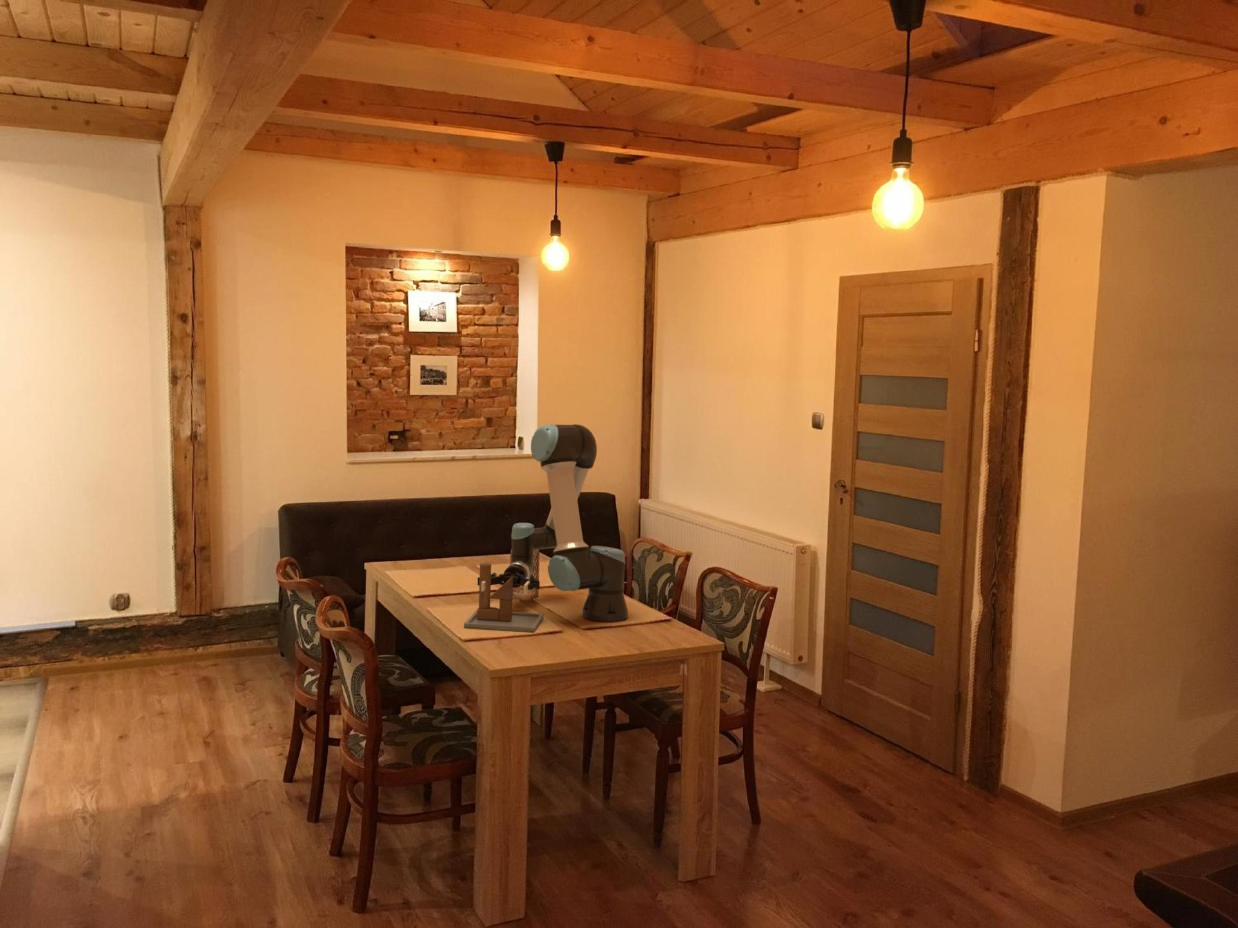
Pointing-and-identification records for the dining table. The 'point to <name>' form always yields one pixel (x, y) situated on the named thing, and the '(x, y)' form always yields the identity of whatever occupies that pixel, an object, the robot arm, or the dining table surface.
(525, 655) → the dining table surface
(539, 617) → the slate tray
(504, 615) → the wooden block
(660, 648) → the dining table surface
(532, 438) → the robot arm
